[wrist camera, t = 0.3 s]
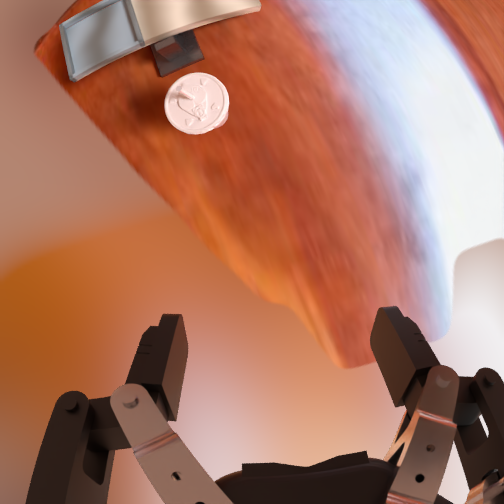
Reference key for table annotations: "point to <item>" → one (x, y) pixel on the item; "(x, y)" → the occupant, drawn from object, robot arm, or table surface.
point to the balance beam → (136, 27)
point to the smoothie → (197, 103)
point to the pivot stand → (176, 52)
